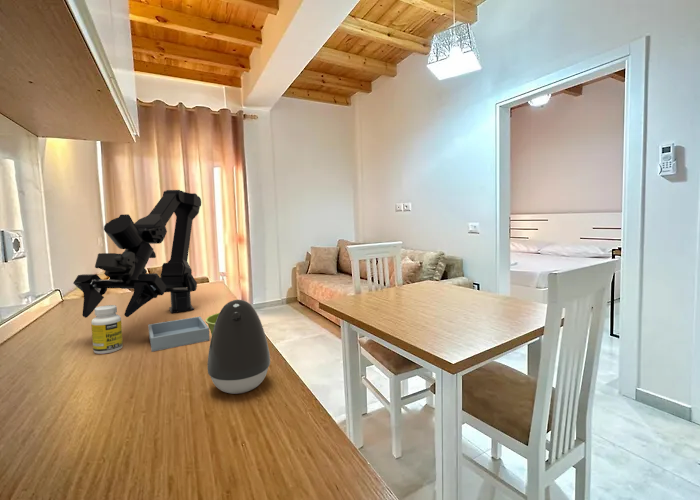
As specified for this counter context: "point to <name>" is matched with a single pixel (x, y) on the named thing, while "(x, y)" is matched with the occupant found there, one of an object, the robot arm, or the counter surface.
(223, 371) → the dark grey egg-shaped device
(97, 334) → the supplement bottle
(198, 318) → the tray
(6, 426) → the counter surface
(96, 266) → the robot arm
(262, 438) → the counter surface
